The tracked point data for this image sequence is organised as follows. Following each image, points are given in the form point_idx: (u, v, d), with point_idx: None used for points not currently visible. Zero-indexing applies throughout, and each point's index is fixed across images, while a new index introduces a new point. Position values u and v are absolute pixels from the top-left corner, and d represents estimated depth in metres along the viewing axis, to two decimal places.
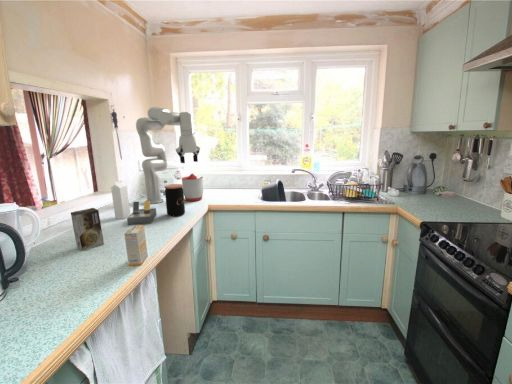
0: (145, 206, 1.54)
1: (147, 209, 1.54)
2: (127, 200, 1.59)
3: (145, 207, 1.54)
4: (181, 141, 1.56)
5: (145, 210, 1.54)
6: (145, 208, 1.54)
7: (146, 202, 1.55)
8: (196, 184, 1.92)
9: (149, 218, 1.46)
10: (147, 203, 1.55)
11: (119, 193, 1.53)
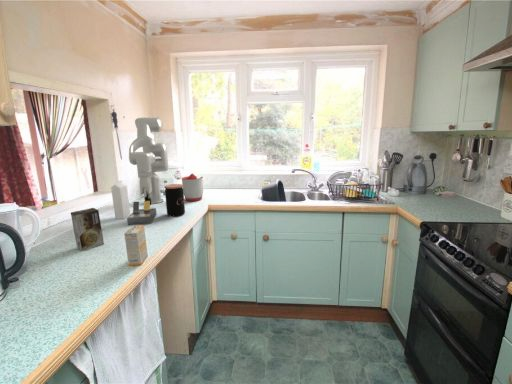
0: (145, 206, 1.54)
1: (147, 209, 1.54)
2: (127, 200, 1.59)
3: (145, 207, 1.54)
4: (144, 183, 1.51)
5: (145, 210, 1.54)
6: (145, 208, 1.54)
7: (146, 202, 1.55)
8: (196, 184, 1.92)
9: (149, 218, 1.46)
10: (147, 203, 1.55)
11: (119, 193, 1.53)
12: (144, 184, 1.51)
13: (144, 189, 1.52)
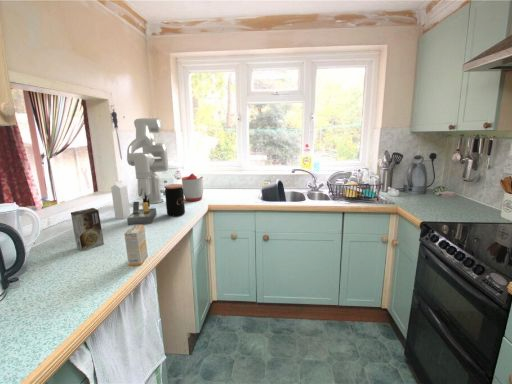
0: (144, 208, 1.52)
1: (147, 211, 1.53)
2: (127, 200, 1.59)
3: (144, 209, 1.52)
4: (143, 184, 1.47)
5: (145, 211, 1.53)
6: (144, 210, 1.52)
7: (144, 205, 1.50)
8: (196, 184, 1.92)
9: (149, 218, 1.46)
10: (145, 205, 1.51)
11: (119, 193, 1.53)
12: (142, 185, 1.47)
13: (142, 191, 1.48)
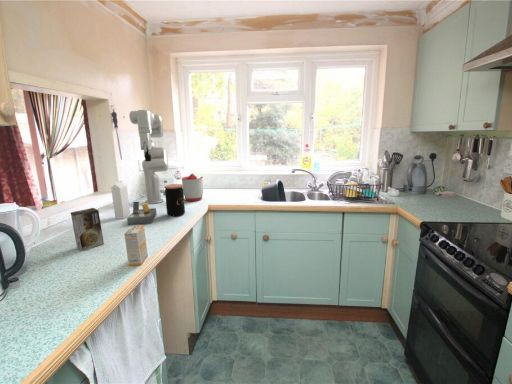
0: (144, 209, 1.51)
1: (147, 211, 1.53)
2: (127, 200, 1.59)
3: (144, 209, 1.52)
4: (144, 138, 1.59)
5: (145, 212, 1.53)
6: (144, 210, 1.52)
7: (144, 205, 1.50)
8: (196, 184, 1.92)
9: (149, 218, 1.46)
10: (145, 206, 1.50)
11: (119, 193, 1.53)
12: (144, 139, 1.59)
13: (144, 144, 1.60)
